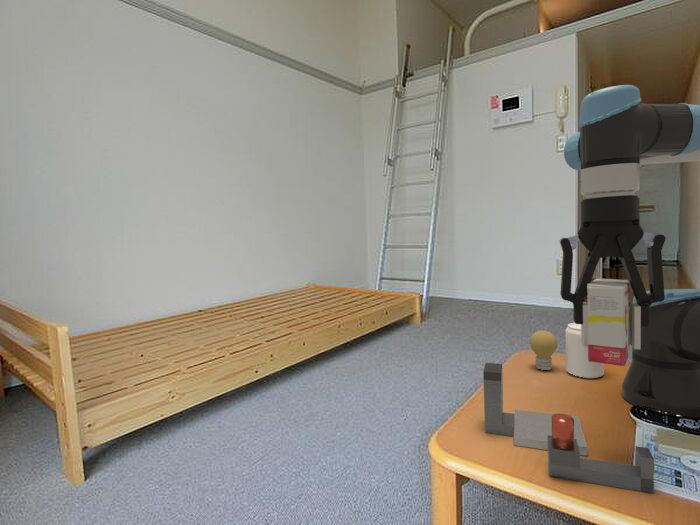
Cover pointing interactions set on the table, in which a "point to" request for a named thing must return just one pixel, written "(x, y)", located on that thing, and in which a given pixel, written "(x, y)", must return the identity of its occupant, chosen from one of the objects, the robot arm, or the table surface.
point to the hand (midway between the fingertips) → (609, 345)
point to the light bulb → (543, 348)
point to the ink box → (608, 321)
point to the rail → (612, 472)
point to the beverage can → (579, 355)
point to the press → (519, 416)
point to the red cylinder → (563, 442)
